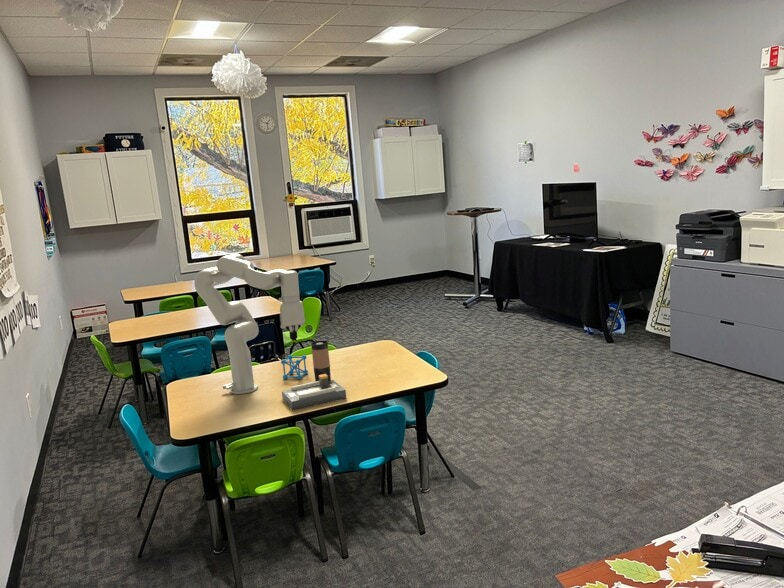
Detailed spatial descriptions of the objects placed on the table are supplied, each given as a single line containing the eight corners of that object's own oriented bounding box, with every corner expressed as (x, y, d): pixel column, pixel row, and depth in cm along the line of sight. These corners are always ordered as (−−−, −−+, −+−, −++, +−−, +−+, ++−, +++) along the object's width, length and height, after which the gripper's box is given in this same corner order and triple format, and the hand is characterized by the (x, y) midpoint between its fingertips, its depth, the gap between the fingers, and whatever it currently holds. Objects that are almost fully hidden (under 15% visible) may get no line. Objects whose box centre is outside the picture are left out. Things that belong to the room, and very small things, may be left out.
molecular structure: (282, 380, 287) (279, 360, 286) (290, 373, 297) (288, 354, 295) (301, 380, 285) (299, 360, 283) (308, 373, 294) (306, 354, 293)
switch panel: (292, 410, 246) (291, 398, 245) (282, 399, 260) (281, 387, 259) (346, 398, 256) (345, 386, 255) (333, 388, 270) (332, 376, 269)
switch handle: (321, 389, 257) (320, 377, 256) (319, 386, 260) (318, 375, 259) (328, 387, 258) (327, 375, 257) (326, 385, 261) (325, 373, 260)
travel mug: (334, 381, 280) (330, 340, 276) (328, 386, 273) (323, 344, 269) (319, 380, 282) (315, 340, 278) (312, 386, 275) (308, 344, 271)
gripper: (276, 302, 250) (279, 344, 254) (310, 298, 256) (312, 339, 260) (271, 299, 257) (274, 340, 260) (304, 295, 263) (307, 335, 266)
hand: (293, 339), depth 260 cm, fingers closed
